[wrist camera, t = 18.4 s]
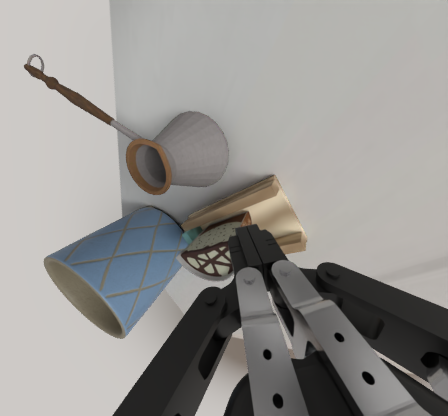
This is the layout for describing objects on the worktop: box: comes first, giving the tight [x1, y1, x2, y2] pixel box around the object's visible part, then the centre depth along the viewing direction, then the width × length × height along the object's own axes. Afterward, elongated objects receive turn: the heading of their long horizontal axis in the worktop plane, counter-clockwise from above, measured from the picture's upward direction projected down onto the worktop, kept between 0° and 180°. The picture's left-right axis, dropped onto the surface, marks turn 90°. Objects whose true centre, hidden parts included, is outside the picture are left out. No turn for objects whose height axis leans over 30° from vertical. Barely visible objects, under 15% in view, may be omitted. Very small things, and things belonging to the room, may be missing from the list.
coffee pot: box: [24, 54, 229, 195], centre depth 24 cm, size 21×12×15 cm, turn 49°
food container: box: [176, 211, 252, 281], centre depth 29 cm, size 12×6×10 cm, turn 123°
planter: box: [44, 206, 188, 339], centre depth 38 cm, size 19×19×20 cm
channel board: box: [181, 175, 307, 254], centre depth 32 cm, size 12×20×5 cm, turn 124°
